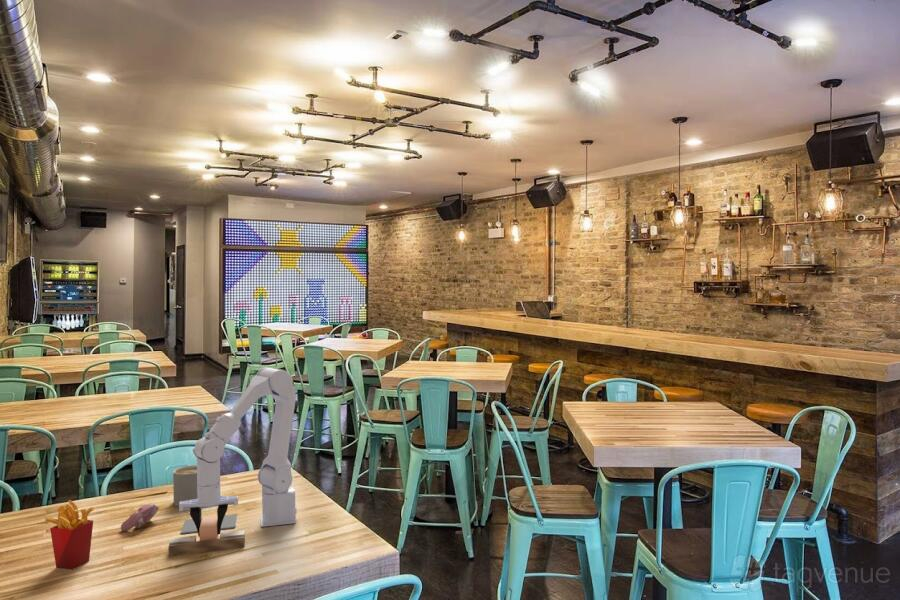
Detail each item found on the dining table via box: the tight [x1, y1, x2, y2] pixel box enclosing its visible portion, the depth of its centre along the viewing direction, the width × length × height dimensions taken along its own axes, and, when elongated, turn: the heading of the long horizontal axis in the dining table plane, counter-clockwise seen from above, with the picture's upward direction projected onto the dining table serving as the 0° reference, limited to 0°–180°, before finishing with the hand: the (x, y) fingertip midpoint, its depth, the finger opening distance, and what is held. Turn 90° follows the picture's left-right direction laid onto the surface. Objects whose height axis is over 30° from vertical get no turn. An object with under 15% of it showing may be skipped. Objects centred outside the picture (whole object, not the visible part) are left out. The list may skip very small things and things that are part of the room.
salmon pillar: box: [199, 515, 219, 541], centre depth 161 cm, size 4×8×5 cm, turn 17°
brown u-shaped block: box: [168, 529, 246, 557], centre depth 157 cm, size 18×4×3 cm, turn 107°
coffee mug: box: [172, 464, 197, 507], centre depth 192 cm, size 13×10×10 cm
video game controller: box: [120, 503, 160, 532], centre depth 172 cm, size 10×5×7 cm, turn 169°
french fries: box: [44, 499, 95, 571], centre depth 147 cm, size 9×8×15 cm
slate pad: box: [180, 513, 238, 535], centre depth 173 cm, size 14×10×1 cm
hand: (209, 534), depth 162 cm, fingers closed on salmon pillar, 4 cm apart
